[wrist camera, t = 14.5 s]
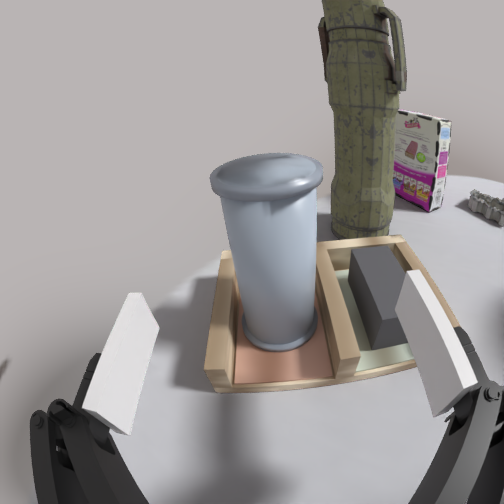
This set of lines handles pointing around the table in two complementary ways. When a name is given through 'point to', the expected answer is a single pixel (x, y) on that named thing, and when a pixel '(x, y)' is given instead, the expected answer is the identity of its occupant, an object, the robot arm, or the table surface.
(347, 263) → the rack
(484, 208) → the egg carton
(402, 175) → the candy bar box
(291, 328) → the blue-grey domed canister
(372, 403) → the table surface
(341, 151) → the thermos
